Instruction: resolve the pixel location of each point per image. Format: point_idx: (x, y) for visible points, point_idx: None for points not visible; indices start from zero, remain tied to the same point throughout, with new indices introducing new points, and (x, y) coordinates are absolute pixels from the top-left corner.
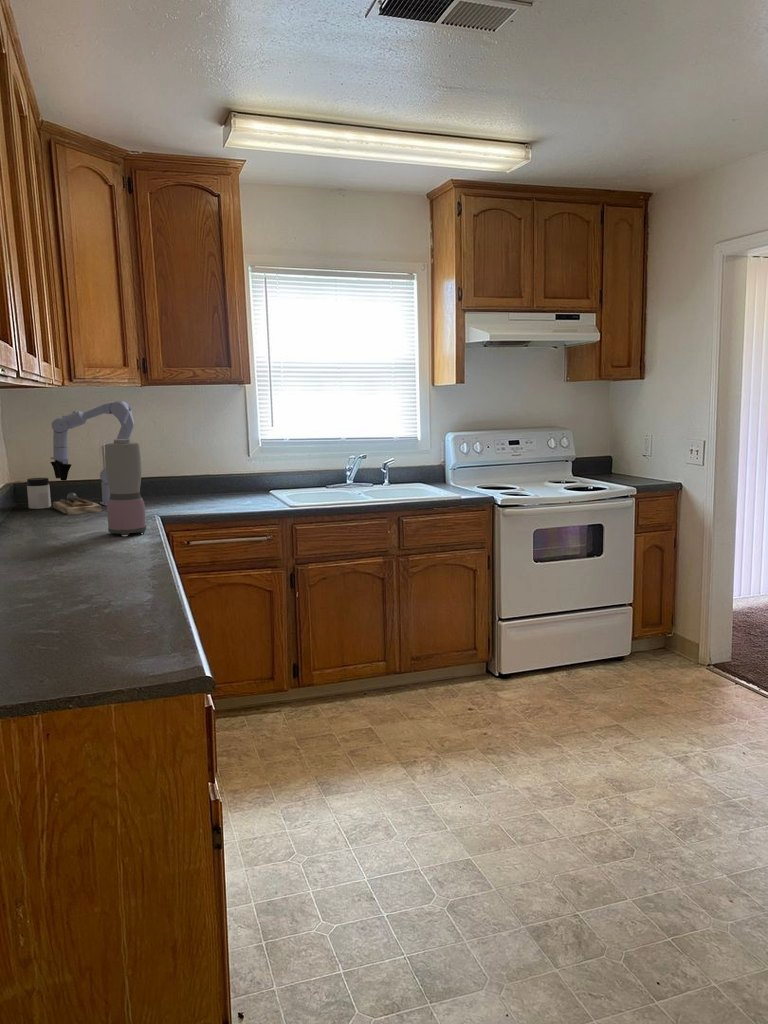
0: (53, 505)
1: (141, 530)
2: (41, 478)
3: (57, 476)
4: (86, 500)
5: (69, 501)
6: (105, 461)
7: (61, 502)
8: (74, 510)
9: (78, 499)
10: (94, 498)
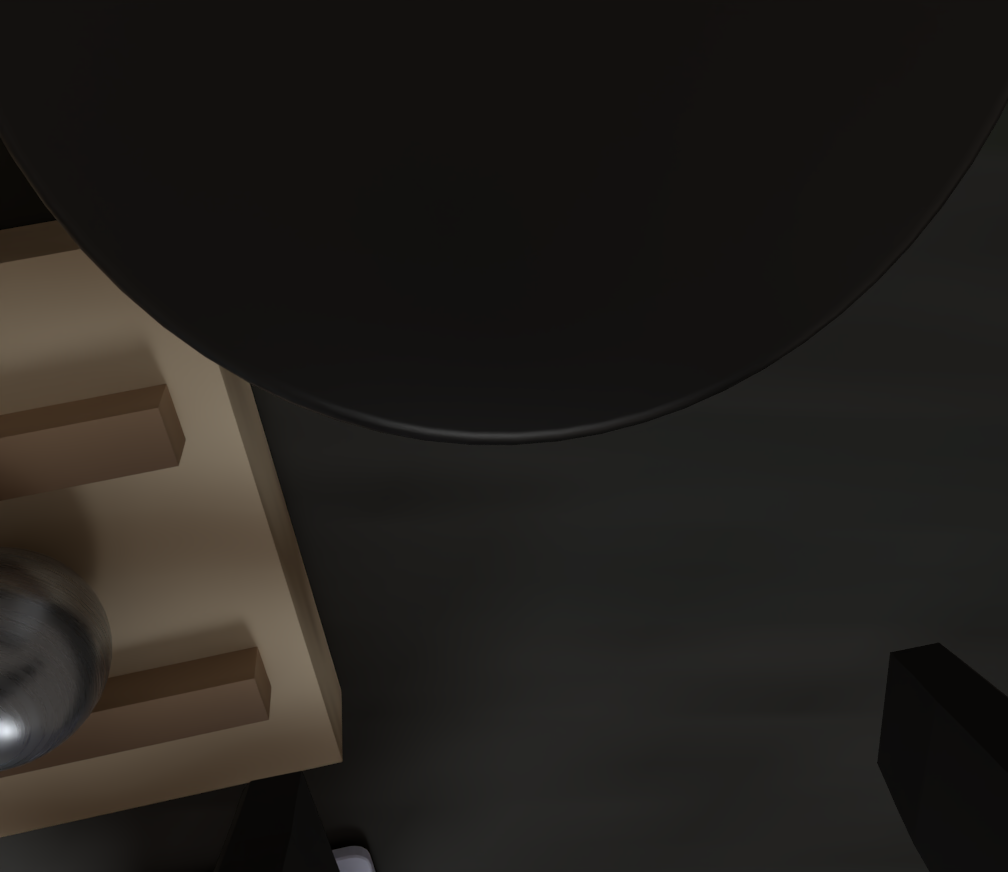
0: None
1: None
2: (577, 149)
3: (916, 729)
4: (156, 779)
5: (135, 541)
6: None
7: (33, 399)
8: None
9: (104, 701)
10: None
